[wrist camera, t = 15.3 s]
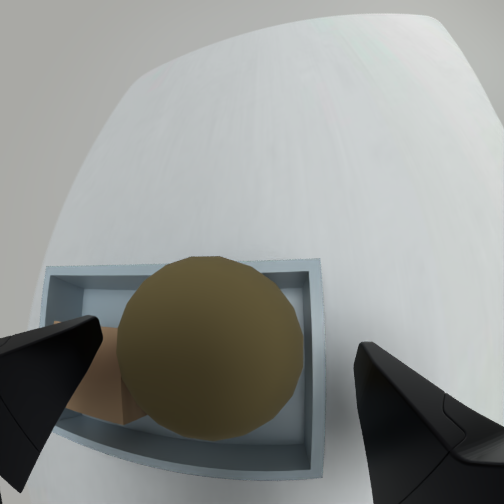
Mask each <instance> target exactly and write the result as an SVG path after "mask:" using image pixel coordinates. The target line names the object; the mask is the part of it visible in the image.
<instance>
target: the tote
mask: <svg viewBox="0 0 504 504" xmlns="http://www.w3.org/2000/svg"><path fill="white" fill-rule="evenodd" d="M239 263H242V264H245V265H249V266H251V267H253V268H254V269H256V270H257V271H259V272H260V273H262V274H263V275H264V276H266V277H267V278H269V279H270V280H271V281H273V282H274V283H276V284H277V286H278V287H279V288H280V290H281V291H282V292H283V294H284V295H285V296H286V298H287V299H288V300H289V302H290V303H291V304H292V306H293V307H294V309H295V312H296V315H297V318H298V321H299V324H300V327H301V330H302V333H303V337H304V342H303V369H302V372H301V375H300V377H299V380H298V383H297V386H296V388H295V391H294V394H293V396H292V397H291V398H290V400H289V401H288V402H287V403H286V404H285V406H284V407H283V408H282V409H281V410H280V412H279V413H278V414H277V415H276V416H275V417H274V419H272V420H270V421H269V422H267V423H265V424H264V425H262V426H260V427H259V428H257V429H255V430H253V431H252V432H250V433H248V434H246V435H244V436H239V437H234V438H229V439H224V440H218V441H208V440H200V439H193V438H187V437H183V436H181V435H179V434H177V433H175V432H173V431H170V430H168V429H166V428H164V427H162V426H160V425H158V424H157V423H156V422H155V421H154V420H153V419H152V418H151V417H150V416H149V415H146V416H144V417H142V418H139V419H137V420H135V421H132V422H130V423H128V424H125V425H121V424H117V423H113V422H109V421H105V420H102V419H98V418H95V417H92V416H88V415H85V414H82V413H79V412H76V411H73V410H70V409H67V408H65V409H64V411H63V413H62V414H61V416H60V418H59V420H58V421H57V423H56V425H55V427H54V428H53V430H52V432H54V433H56V434H58V435H60V436H62V437H64V438H67V439H69V440H71V441H74V442H76V443H78V444H81V445H83V446H86V447H88V448H91V449H94V450H97V451H99V452H102V453H105V454H108V455H111V456H114V457H117V458H120V459H124V460H127V461H131V462H134V463H138V464H142V465H146V466H150V467H154V468H159V469H163V470H168V471H173V472H179V473H184V474H191V475H197V476H205V477H213V478H224V479H237V480H301V479H314V478H322V475H323V460H324V442H325V412H326V357H325V325H324V305H323V288H322V274H321V262H320V258H319V259H294V260H268V261H240V262H239ZM165 265H167V264H140V265H98V266H46V272H45V279H44V286H43V294H42V303H41V313H40V327H39V328H42V327H45V326H49V325H53V324H54V321H59V322H64V321H67V320H71V319H74V318H78V317H82V316H85V315H92V316H96V317H97V318H98V319H99V322H100V326H102V327H112V328H118V326H119V323H120V320H121V318H122V315H123V312H124V309H125V307H126V304H127V302H128V301H129V300H130V298H131V297H132V296H133V294H134V293H135V292H136V290H137V289H138V288H139V286H140V285H141V284H142V283H143V281H144V280H146V279H147V278H148V277H150V276H151V275H153V274H154V273H155V272H157V271H158V270H160V269H161V268H162V267H164V266H165Z"/></svg>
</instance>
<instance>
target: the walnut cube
mask: <svg viewBox="0 0 504 504" xmlns="http://www.w3.org/2000/svg"><path fill="white" fill-rule="evenodd" d="M56 323H60V322H59V321H54V324H56ZM101 330H102V333H103V342H102V344H101V346H100V348H99V349H98V351H97V353H96V355H95V357H94V359H93V361H92V363H91V365H90V367H89V369H88V371H87V373H86V374H85V376H84V378H83V379H82V381H81V382H80V384H79V386H78V387H77V389H76V391H75V392H74V394H73V396H72V397H71V399H70V401H69V402H68V404H67V406H66V407H65V408H67V409H70V410H73V411H76V412H79V413H82V414H85V415H88V416H92V417H95V418H98V419H102V420H105V421H109V422H113V423H117V424H121V425H125V424H128V423H130V422H132V421H135V420H137V419H139V418H142V417H144V416H146V415H147V414H146V413H145V412H144V411H143V410H142V409H141V408H140V407H139V406H138V405H137V404H136V402H135V400H134V399H133V397H132V395H131V394H130V392H129V390H128V388H127V387H126V385H125V383H124V381H123V379H122V376H121V372H120V368H119V363H118V359H117V355H116V349H117V332H118V328H112V327H102V326H101Z"/></svg>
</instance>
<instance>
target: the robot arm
mask: <svg viewBox="0 0 504 504" xmlns="http://www.w3.org/2000/svg"><path fill="white" fill-rule="evenodd" d="M102 342H103V333H102V330H101V326H100V322H99V319H98V318H97V317H96V316H92V315H85V316H82V317H78V318H74V319H71V320H67V321H64V322H60V323H56V324H53V325H49V326H45V327H42V328H38V329H34V330H30V331H27V332H23V333H19V334H15V335H13V336H8V337H4V338H0V476H1V477H2V478H3V479H4V480H6V481H7V482H8V483H9V484H10V485H11V486H12V487H13V488H14V489H16V490H17V491H18V492H19V493H21V492H22V491H23V489H24V486H25V484H26V482H27V480H28V478H29V476H30V474H31V471H32V469H33V467H34V465H35V463H36V461H37V459H38V457H39V455H40V453H41V451H42V449H43V447H44V445H45V443H46V441H47V439H48V438H49V436H50V434H51V432H52V430H53V428H54V427H55V425H56V423H57V421H58V420H59V418H60V416H61V414H62V413H63V411H64V409H65V407H66V406H67V404H68V402H69V401H70V399H71V397H72V396H73V394H74V392H75V391H76V389H77V387H78V386H79V384H80V382H81V381H82V379H83V378H84V376H85V374H86V373H87V371H88V369H89V367H90V365H91V363H92V361H93V359H94V357H95V355H96V353H97V351H98V349H99V348H100V346H101V344H102ZM354 377H355V388H356V399H357V409H358V415H359V419H360V424H361V429H362V435H363V440H364V445H365V451H366V456H367V462H368V468H369V475H370V481H371V488H372V495H373V503H374V504H504V427H503V426H501V425H499V424H498V423H496V422H494V421H492V420H490V419H488V418H486V417H485V416H483V415H481V414H479V413H477V412H476V411H474V410H472V409H470V408H469V407H467V406H465V405H464V404H462V403H461V402H459V401H458V400H456V399H454V398H453V397H452V396H450V395H449V394H447V393H445V392H444V391H443V390H441V389H440V388H438V387H437V386H436V385H434V384H433V383H431V382H430V381H428V380H427V379H425V378H424V377H423V376H421V375H420V374H418V373H417V372H415V371H414V370H412V369H411V368H409V367H408V366H407V365H405V364H404V363H402V362H401V361H399V360H398V359H397V358H395V357H394V356H392V355H391V354H389V353H388V352H386V351H385V350H384V349H382V348H381V347H379V346H378V345H376V344H375V343H373V342H361V343H360V344H359V346H358V350H357V354H356V358H355V362H354ZM0 504H2V499H1V494H0Z"/></svg>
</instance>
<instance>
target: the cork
mask: <svg viewBox="0 0 504 504" xmlns="http://www.w3.org/2000/svg"><path fill="white" fill-rule="evenodd" d="M303 342H304V337H303V333H302V330H301V327H300V324H299V321H298V318H297V315H296V312H295V309H294V307H293V306H292V304H291V303H290V302H289V300H288V299H287V298H286V296H285V295H284V294H283V292H282V291H281V290H280V288H279V287H278V286H277V284H276V283H274V282H273V281H271V280H270V279H269V278H267V277H266V276H264V275H263V274H262V273H260V272H259V271H257V270H256V269H254V268H253V267H251V266H249V265H245V264H242V263H239V262H236V261H233V260H229V259H226V258H223V257H220V256H211V257H189V258H186V259H183V260H180V261H177V262H174V263H171V264H167V265H165V266H164V267H162V268H161V269H160V270H158V271H157V272H155V273H154V274H153V275H151V276H150V277H148V278H147V279H146V280H144V281H143V283H142V284H141V285H140V286H139V288H138V289H137V290H136V292H135V293H134V294H133V296H132V297H131V298H130V300H129V301H128V302H127V304H126V307H125V309H124V312H123V315H122V318H121V320H120V323H119V326H118V332H117V349H116V355H117V359H118V363H119V368H120V372H121V376H122V379H123V381H124V383H125V385H126V387H127V388H128V390H129V392H130V394H131V395H132V397H133V399H134V400H135V402H136V404H137V405H138V406H139V407H140V408H141V409H142V410H143V411H144V412H145V413H146V414H147V415H149V416H150V417H151V418H152V419H153V420H154V421H155V422H156V423H157V424H158V425H160V426H162V427H164V428H166V429H168V430H170V431H173V432H175V433H177V434H179V435H181V436H183V437H187V438H193V439H200V440H208V441H218V440H224V439H229V438H234V437H239V436H244V435H246V434H248V433H250V432H252V431H253V430H255V429H257V428H259V427H260V426H262V425H264V424H265V423H267V422H269V421H270V420H272V419H274V417H275V416H276V415H277V414H278V413H279V412H280V410H281V409H282V408H283V407H284V406H285V404H286V403H287V402H288V401H289V400H290V398H291V397H292V396H293V394H294V391H295V388H296V386H297V383H298V380H299V377H300V375H301V372H302V369H303Z"/></svg>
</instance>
